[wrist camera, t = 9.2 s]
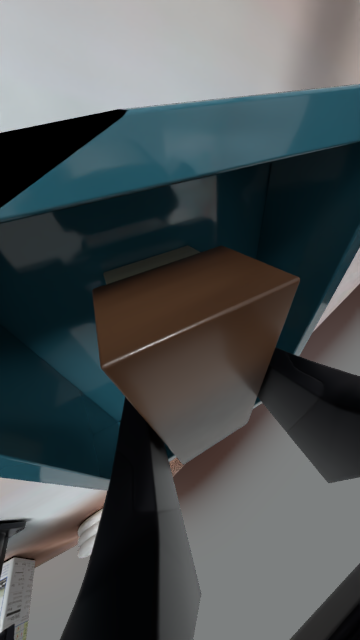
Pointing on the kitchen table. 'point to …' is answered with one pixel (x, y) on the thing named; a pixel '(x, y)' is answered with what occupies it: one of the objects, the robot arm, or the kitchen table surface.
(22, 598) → the light bulb box
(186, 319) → the tall brown box
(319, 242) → the open box
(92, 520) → the coaster
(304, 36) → the kitchen table surface
